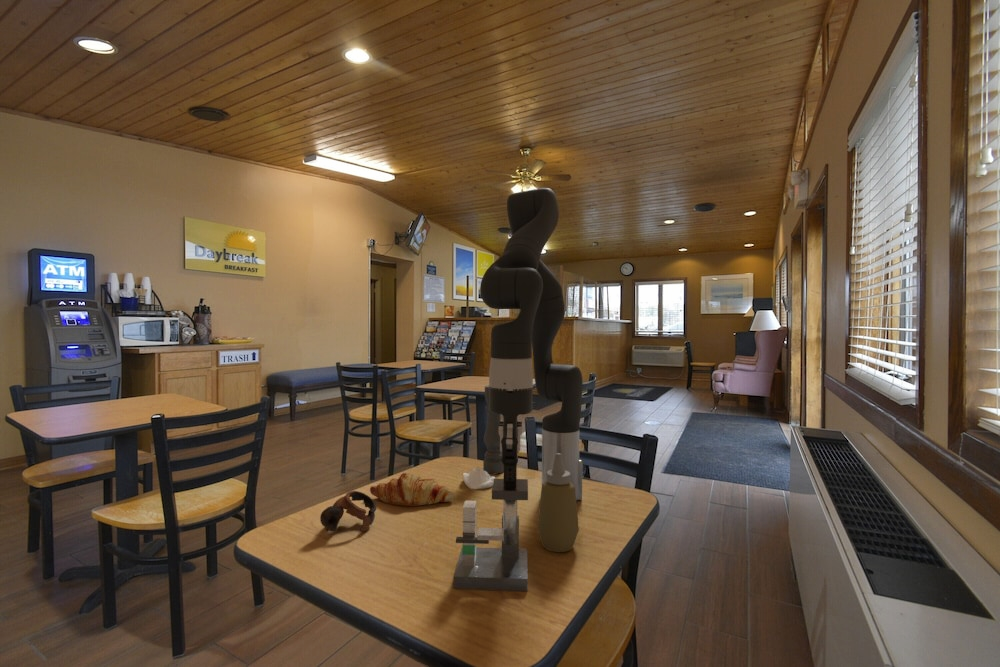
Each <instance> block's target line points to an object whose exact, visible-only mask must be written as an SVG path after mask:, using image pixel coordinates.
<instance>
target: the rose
mask: <svg viewBox="0 0 1000 667" xmlns="http://www.w3.org/2000/svg"><path fill="white" fill-rule="evenodd" d="M462 474H463V475H462V479H463V482H464V484H465V485H466V487H468V489H471V490H482V489H488V488H491V487H493V482H494V479H496V476H494V475H491V474H488V473H487V472H486V471H484V470H483V469H481V468H480V467H476V468H473V469H471V470H469V472H468V473H467V472H463V473H462Z"/></svg>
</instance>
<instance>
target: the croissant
mask: <svg viewBox="0 0 1000 667" xmlns="http://www.w3.org/2000/svg"><path fill="white" fill-rule="evenodd" d="M369 492H370V494H371V495H372V496H375V497H376V498H377V499H379V500H380V501H381V502H383V503H386V504H391V505H395V506H408V507H418V506H425V505H432V504H437V503H446V502H450V501H452V500H454V499H455V493H454V492H453V491H451V489H450V488H449V487H447V486H446V485H441V484H439V483H438V482H437V481H436V480H435V479H433V478H427V479H426V478H422V476H420V475H418V474H417V473H410V472H408V473H407V472H406V473H405V472H403V473H401V474H400V476H399V477H398V478H391V479H390V480H389V481H388V482H387V483H386V482H382V483H378V484H377V485H374V486H373V485H372V486H370V488H369Z"/></svg>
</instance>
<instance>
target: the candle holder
mask: <svg viewBox="0 0 1000 667" xmlns="http://www.w3.org/2000/svg"><path fill="white" fill-rule="evenodd" d="M484 398H485V401H486V404H487V405H485V408H484V409H485V410H486V411H487V423H486V427H485V431H484V435H483V443H484V445H485V446H486V449H487V450H486V451H485V453H484V458H483V459H482V460H483V469H482V470H484V471H486V472H487V473H488V474H489V475H498V473H500V474H502V472H503V473H504V464H502V451H500V435H499V423H500V421H502V420H501V416H502V414H495V413H492V412H491V411H490V410H489V384H488V385H484Z"/></svg>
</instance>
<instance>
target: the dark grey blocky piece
mask: <svg viewBox="0 0 1000 667" xmlns="http://www.w3.org/2000/svg"><path fill="white" fill-rule="evenodd" d="M528 484H529V480H528V479H527V478H517V481H516V485H515V486H505V485H504V478H495V479H494V482H493V485H492V486H491V487H492V488H491V500H494V501H495V500H496V501H497V500H498V501H500V500H501V501H502V502H503V503H502V504H503V506H502V509H503V510H502V515H503V528H502V527H500V528H498V527H478V530H477V533H476V537H477V540H489V541H493V542H494V541H498V542H499V541H501V542H502V541H503V543H504V544H505V545H508V546H512V545H515V544H517V516H518V501H528V500H529V485H528Z"/></svg>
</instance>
